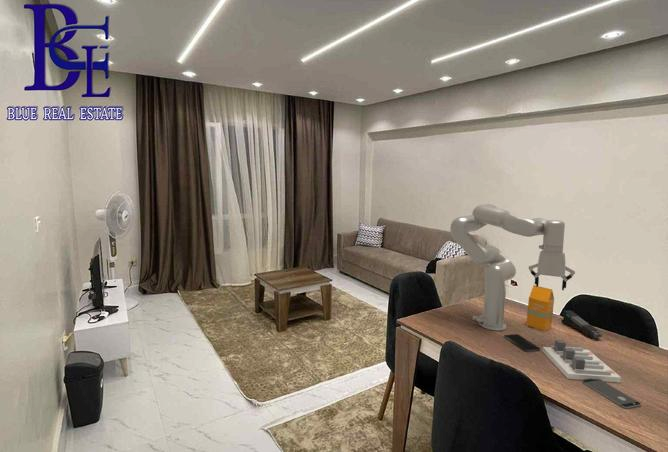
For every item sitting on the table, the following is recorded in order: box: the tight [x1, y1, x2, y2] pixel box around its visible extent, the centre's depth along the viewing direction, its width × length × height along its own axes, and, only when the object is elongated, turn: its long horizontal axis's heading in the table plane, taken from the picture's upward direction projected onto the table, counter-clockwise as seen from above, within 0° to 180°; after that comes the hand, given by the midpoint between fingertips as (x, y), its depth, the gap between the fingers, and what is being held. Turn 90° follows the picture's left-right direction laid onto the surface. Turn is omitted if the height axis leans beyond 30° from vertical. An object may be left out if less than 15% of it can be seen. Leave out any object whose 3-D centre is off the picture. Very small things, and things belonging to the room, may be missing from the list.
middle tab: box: [562, 348, 575, 360], centre depth 143 cm, size 3×3×4 cm
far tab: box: [553, 339, 567, 351], centre depth 150 cm, size 3×3×4 cm
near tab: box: [572, 357, 585, 370], centre depth 136 cm, size 3×3×4 cm
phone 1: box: [503, 333, 541, 353], centre depth 162 cm, size 8×1×15 cm
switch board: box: [541, 345, 622, 384], centre depth 143 cm, size 18×21×3 cm
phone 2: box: [581, 379, 642, 410], centre depth 125 cm, size 8×1×16 cm
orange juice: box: [526, 284, 555, 332], centre depth 179 cm, size 8×9×20 cm
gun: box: [560, 309, 603, 340], centre depth 175 cm, size 4×20×10 cm, turn 9°
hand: (549, 287), depth 158 cm, fingers open, 9 cm apart
